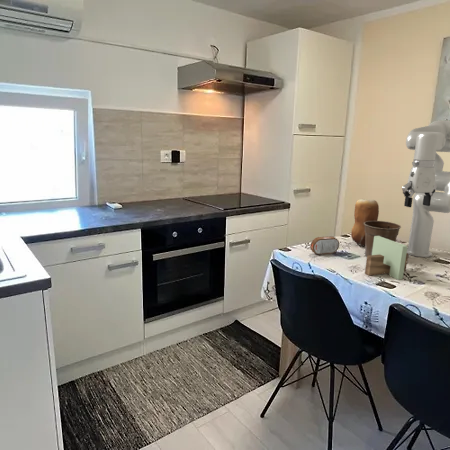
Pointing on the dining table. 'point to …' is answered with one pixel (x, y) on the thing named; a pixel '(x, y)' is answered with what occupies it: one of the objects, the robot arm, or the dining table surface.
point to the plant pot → (379, 233)
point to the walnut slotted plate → (378, 265)
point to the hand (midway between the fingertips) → (416, 206)
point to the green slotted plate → (391, 255)
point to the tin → (324, 245)
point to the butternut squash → (363, 218)
